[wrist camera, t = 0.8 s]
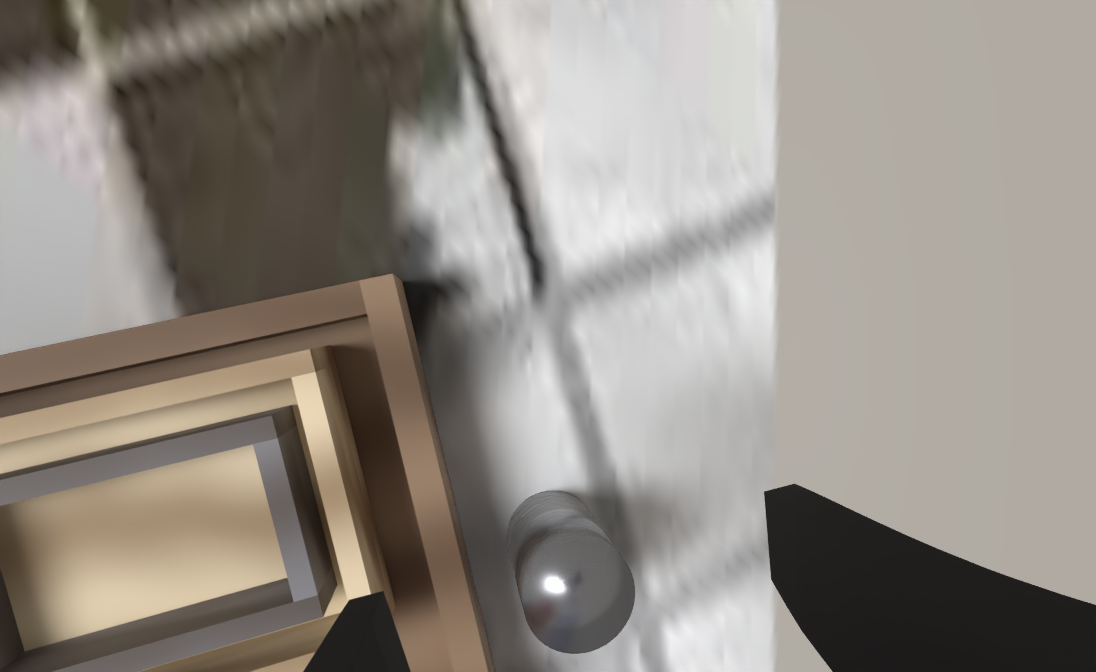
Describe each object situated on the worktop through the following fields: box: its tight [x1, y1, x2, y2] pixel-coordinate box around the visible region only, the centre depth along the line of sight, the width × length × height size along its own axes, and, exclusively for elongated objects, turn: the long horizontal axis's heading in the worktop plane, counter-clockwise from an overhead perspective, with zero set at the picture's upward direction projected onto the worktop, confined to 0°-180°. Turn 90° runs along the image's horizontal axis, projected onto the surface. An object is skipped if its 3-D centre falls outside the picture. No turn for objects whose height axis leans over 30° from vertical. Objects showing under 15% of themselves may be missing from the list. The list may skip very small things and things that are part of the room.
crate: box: [0, 345, 395, 672], centre depth 21 cm, size 11×15×4 cm
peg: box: [507, 491, 635, 654], centre depth 23 cm, size 4×4×6 cm
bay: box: [0, 274, 495, 672], centre depth 22 cm, size 22×21×4 cm
